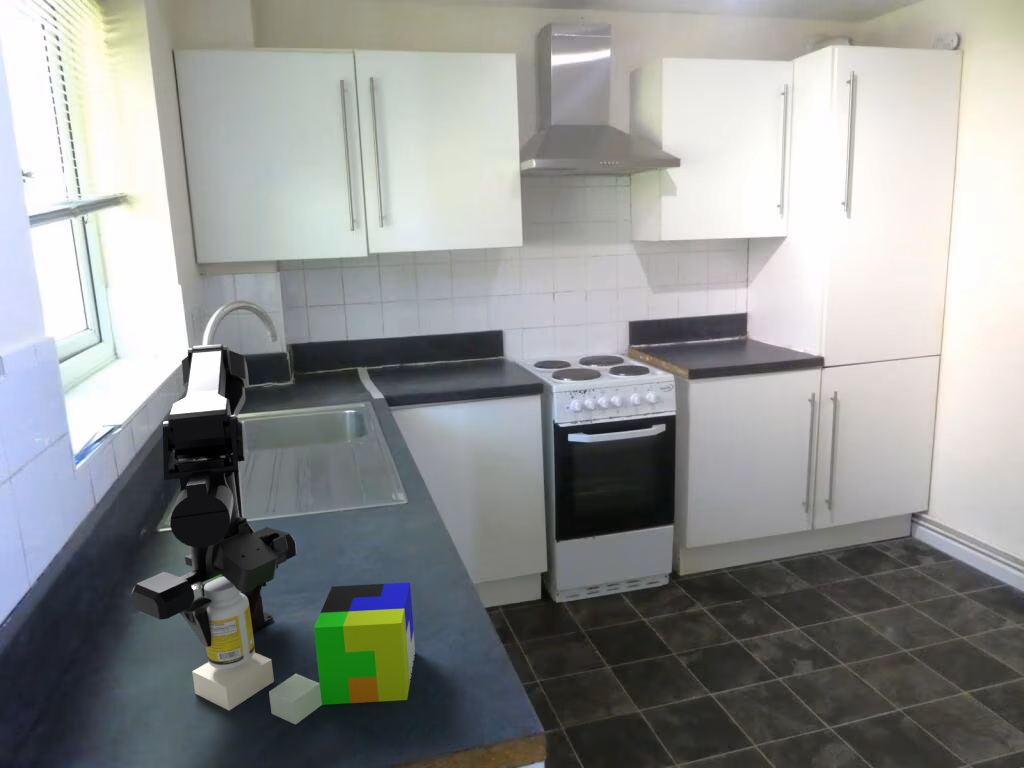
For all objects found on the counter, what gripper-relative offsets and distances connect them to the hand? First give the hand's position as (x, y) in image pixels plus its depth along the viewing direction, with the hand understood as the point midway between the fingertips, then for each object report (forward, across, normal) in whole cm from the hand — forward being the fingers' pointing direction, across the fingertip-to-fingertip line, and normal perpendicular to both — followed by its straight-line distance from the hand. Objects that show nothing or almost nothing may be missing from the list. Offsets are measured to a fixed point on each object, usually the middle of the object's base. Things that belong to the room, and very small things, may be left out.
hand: (228, 634), depth 88 cm
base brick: (+7, 0, 0) cm, 7 cm away
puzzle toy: (+7, +10, -13) cm, 18 cm away
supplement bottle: (+3, 0, 0) cm, 3 cm away
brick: (+7, +1, -10) cm, 12 cm away
